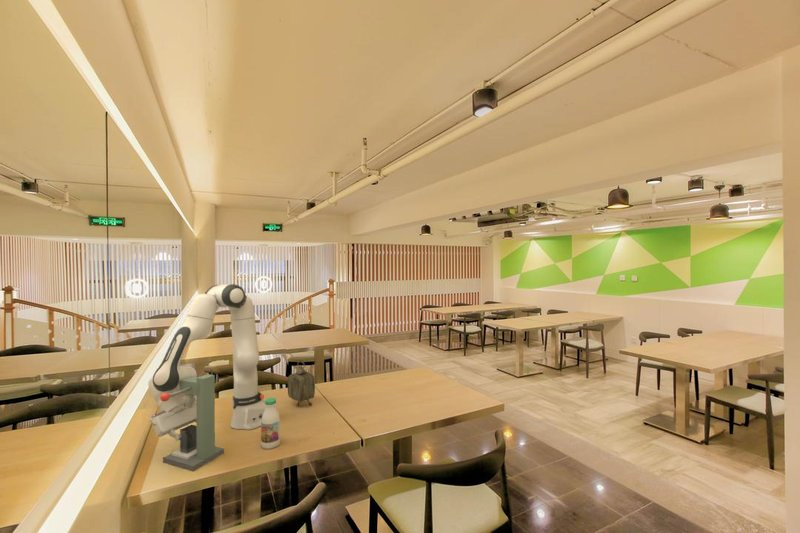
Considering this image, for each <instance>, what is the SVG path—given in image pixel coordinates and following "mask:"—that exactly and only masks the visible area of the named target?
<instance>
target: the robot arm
mask: <svg viewBox="0 0 800 533" xmlns="http://www.w3.org/2000/svg"><path fill="white" fill-rule="evenodd" d="M220 308H228V309H229V312H230V323H231V324H230V326H231V337H232V346H233V347H232V348H233V351H232V370H233V372H232V373H233V395H232V408H233V410H232V416H231V421H230V424H229V425H230V427H231V428H232V429H236V430H237V429H238V430H248V431H249V430H252V429H256V428H258V427H261V420H262V415H263V413H264V411H265V407H266V406H265V400H266V399H265V394H263V393H262V392H260V391H259V390H258V389H259V384H258V382H259V381H258V380H259V379H258V377H259V375H258V367H257V365H258V364H259V361H260V353H259V351H260V350H259V345H258V343H259V342H258V335H257V328H256V327H257V326H256V317H255V309H254V303H253V300H252V298H251V297H249V296H247V295H246V292H245V289H243V287H241V286H240V285H238V284H234V283H233V284H232V283H231V284H229V283H223V284H222V283H221V284H216V285H212V286H210V287H209V288H208V289H207V290H206V291H205V293H201V294H200V293H199V294H197V295H196V296H194V298H193V300H192V302H191V304H190V306H189V308H188V311H187V314H186V317H185V319H184V321H183V323H182V325H181V327H179V329H178V330H177V331H176V332H175V333H174V336H173V338H172V339H171V342H170V343H169V346H168V348H167V350H166V353H165V355H164V357H163V359H162V361H161V363H160V364H159V365H158V368H157V369H156V370H155V372H154V374H153V375H152V377H151V378H150V379H149V381H148V390H149V392H150V394H151V397H152V398H153V400H154V401H155V402H156V403H157V406H158V409H159V410H160V412H158V413H154V414H153V415H152V416H151V417H150V423H151V425H152V426H153V430H154V432H155V434H156V435H157V437H160V438H162V437H164V436H166V435H168V436H169V437H171V438H174V440H175V441H176V442H178V441H180V439H181V438H182V436H181V435H180V433H179V434H178V433H176V431H177V430H179V429H183V428H185V427H187V426H189V425H192V423H196V395H194V403H193V407H191V408H187V405H186V404H185V395H183V393H180V394H178V395H175V396H172V397H170V398H169V400H167V401H161V399H160V397H161V395H162V394H164V393H168V394H171V393H174V392H177V391H180V380H182V379H185V378H188V377H198V372H197V370H196V368H194V367H193V366H190V365H180V363H181V361H182V359H183V356H184V354H185V352H186V349H187V347H188V346H189V344H191V343H193V342H194V341H196V340H199V339H202V338H203V337H206V336H207V334H209V333H210V331H211V329H212V327H213V323H214V320H215V316H216V313H217V311H218V310H219V309H220Z"/></svg>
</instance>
